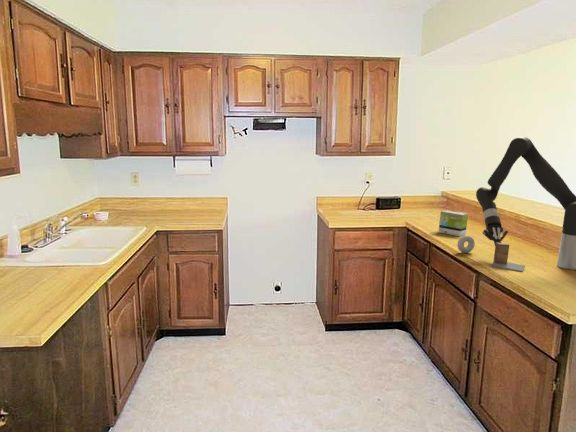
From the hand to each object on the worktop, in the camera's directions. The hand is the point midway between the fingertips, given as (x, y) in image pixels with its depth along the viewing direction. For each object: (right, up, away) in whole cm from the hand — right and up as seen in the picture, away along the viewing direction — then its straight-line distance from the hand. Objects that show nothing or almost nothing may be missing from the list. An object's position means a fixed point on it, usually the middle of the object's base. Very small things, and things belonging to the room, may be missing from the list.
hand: (498, 246), depth 223 cm
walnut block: (0, -8, -2) cm, 8 cm away
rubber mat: (+1, -9, -7) cm, 12 cm away
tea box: (+1, +4, +67) cm, 67 cm away
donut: (-10, -5, +17) cm, 20 cm away
